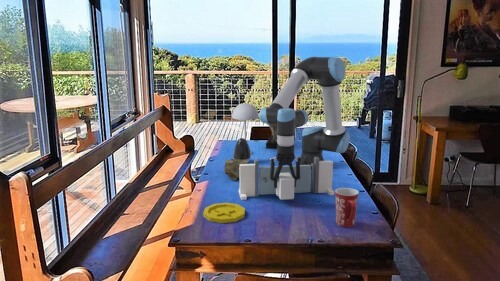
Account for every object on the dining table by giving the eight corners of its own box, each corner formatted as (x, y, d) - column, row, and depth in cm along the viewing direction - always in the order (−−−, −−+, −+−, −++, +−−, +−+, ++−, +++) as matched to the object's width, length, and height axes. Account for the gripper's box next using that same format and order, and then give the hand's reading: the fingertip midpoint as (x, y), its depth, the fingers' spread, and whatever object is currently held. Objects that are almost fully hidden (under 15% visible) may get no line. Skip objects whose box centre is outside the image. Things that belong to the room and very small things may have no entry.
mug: (330, 219, 167) (332, 187, 164) (352, 218, 168) (354, 187, 165) (339, 233, 155) (341, 199, 152) (363, 232, 155) (365, 198, 152)
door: (312, 191, 198) (313, 163, 195) (314, 193, 195) (315, 165, 192) (259, 194, 195) (259, 165, 191) (260, 196, 192) (260, 167, 188)
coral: (285, 150, 275) (286, 118, 270) (255, 149, 279) (255, 117, 274) (289, 142, 299) (289, 112, 294) (261, 140, 303) (261, 111, 298)
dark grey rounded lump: (231, 165, 242) (231, 139, 239) (236, 160, 252) (235, 135, 248) (248, 166, 240) (248, 140, 236) (252, 161, 249) (252, 136, 246)
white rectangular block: (288, 191, 191) (288, 172, 189) (293, 198, 182) (294, 179, 180) (275, 191, 190) (276, 173, 188) (280, 199, 181) (280, 180, 179)
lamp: (263, 152, 270) (263, 102, 263) (249, 158, 256) (249, 105, 249) (241, 149, 279) (241, 100, 272) (226, 154, 265) (226, 103, 258)
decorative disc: (201, 223, 164) (200, 218, 163) (207, 206, 181) (207, 202, 181) (243, 224, 163) (243, 219, 163) (245, 207, 180) (245, 203, 180)
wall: (327, 187, 204) (329, 154, 200) (334, 195, 194) (336, 160, 190) (238, 192, 197) (238, 157, 194) (241, 199, 188) (241, 163, 184)
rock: (220, 180, 213) (238, 182, 210) (221, 160, 212) (239, 162, 209) (232, 173, 231) (249, 175, 228) (233, 155, 230) (251, 157, 227)
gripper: (304, 141, 186) (302, 190, 191) (262, 143, 183) (262, 192, 188) (309, 145, 178) (307, 196, 184) (265, 147, 176) (265, 198, 181)
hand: (284, 194), depth 186 cm, fingers closed on white rectangular block, 6 cm apart
